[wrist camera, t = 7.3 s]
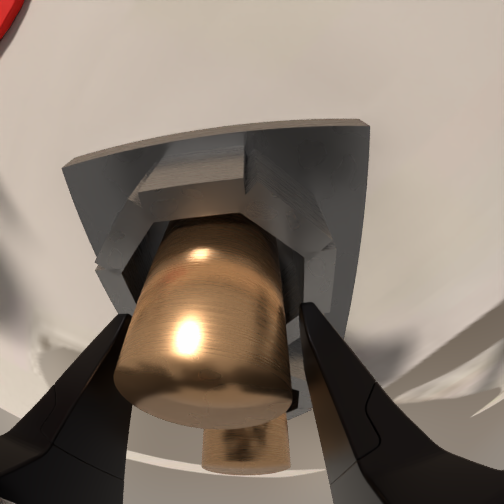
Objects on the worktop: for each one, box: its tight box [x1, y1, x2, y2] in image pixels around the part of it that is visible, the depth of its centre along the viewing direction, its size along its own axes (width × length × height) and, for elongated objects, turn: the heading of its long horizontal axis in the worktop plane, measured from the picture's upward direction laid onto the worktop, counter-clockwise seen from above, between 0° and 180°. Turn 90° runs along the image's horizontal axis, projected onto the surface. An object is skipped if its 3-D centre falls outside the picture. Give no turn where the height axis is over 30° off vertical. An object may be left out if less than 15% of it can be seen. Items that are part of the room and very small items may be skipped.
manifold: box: [62, 119, 370, 475], centre depth 13 cm, size 18×12×8 cm, turn 6°
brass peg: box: [114, 212, 293, 429], centre depth 9 cm, size 4×4×7 cm
